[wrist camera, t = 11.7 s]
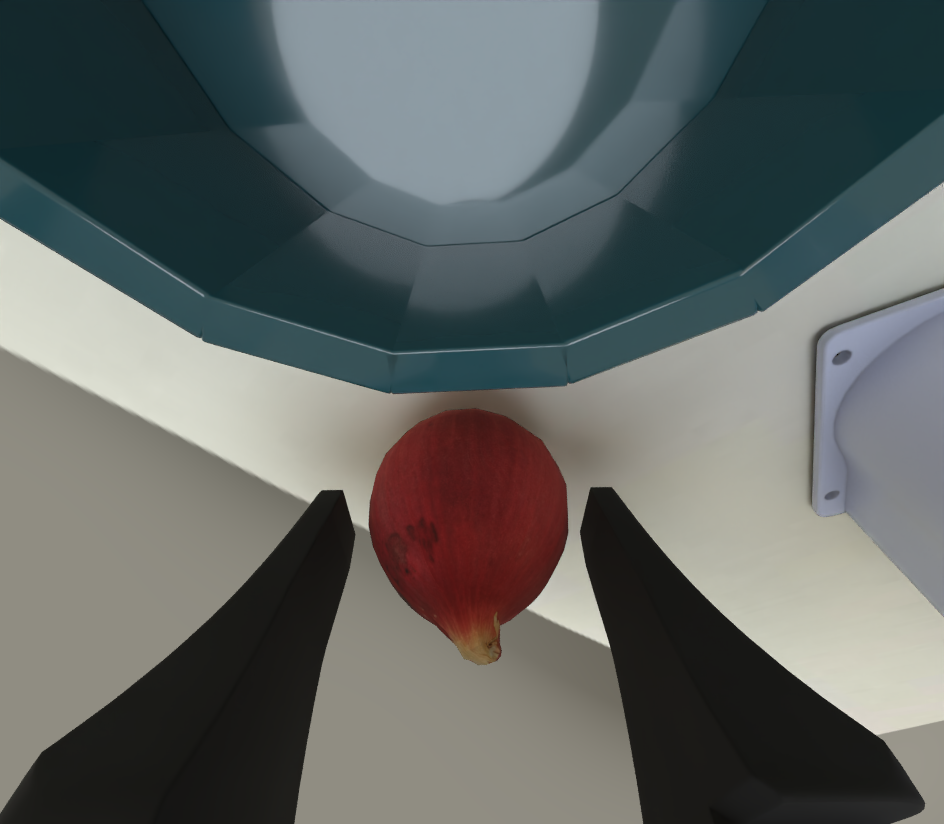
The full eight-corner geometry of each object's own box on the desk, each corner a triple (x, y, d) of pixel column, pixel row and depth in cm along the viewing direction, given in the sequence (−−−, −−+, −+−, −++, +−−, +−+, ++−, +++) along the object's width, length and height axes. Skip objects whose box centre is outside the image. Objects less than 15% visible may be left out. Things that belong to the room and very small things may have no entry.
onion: (412, 491, 17) (378, 718, 11) (370, 376, 14) (283, 606, 7) (551, 474, 17) (603, 704, 10) (542, 350, 13) (609, 575, 7)
